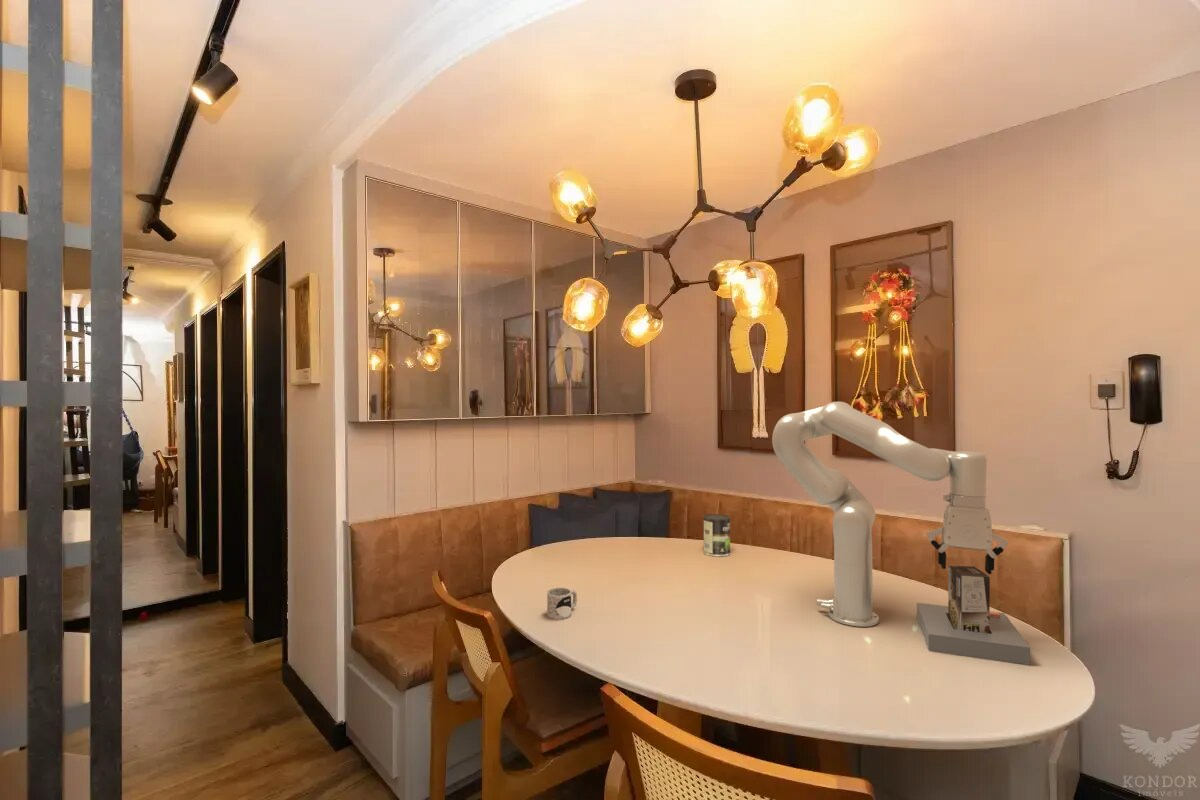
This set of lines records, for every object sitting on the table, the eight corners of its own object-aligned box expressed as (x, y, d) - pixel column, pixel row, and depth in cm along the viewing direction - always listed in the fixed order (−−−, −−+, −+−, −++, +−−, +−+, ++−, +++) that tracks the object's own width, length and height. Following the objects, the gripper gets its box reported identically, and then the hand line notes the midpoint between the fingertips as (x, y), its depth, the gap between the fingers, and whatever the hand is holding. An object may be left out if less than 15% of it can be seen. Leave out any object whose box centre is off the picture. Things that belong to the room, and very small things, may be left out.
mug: (558, 622, 155) (558, 597, 155) (542, 616, 159) (542, 592, 159) (584, 611, 162) (584, 588, 162) (568, 606, 167) (568, 583, 167)
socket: (928, 650, 136) (928, 630, 136) (916, 617, 156) (916, 599, 156) (1030, 665, 128) (1030, 644, 128) (1004, 628, 149) (1003, 609, 149)
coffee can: (734, 551, 223) (734, 515, 222) (724, 558, 214) (724, 520, 214) (709, 548, 228) (709, 512, 228) (699, 554, 220) (698, 517, 219)
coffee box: (991, 644, 137) (991, 577, 137) (961, 641, 139) (961, 575, 138) (975, 629, 146) (975, 565, 146) (947, 626, 147) (947, 564, 147)
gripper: (929, 501, 142) (927, 569, 142) (1013, 507, 135) (1011, 579, 136) (925, 496, 149) (923, 561, 149) (1004, 502, 142) (1002, 570, 143)
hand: (965, 569), depth 143 cm, fingers open, 9 cm apart
